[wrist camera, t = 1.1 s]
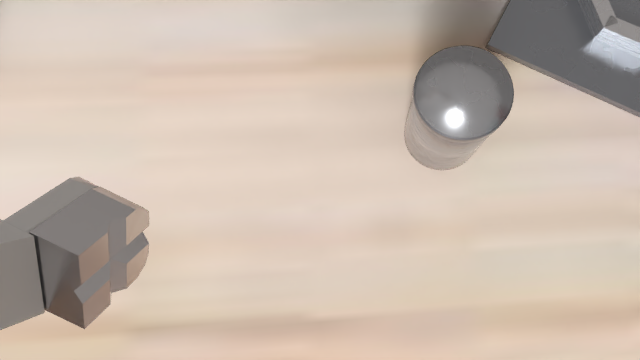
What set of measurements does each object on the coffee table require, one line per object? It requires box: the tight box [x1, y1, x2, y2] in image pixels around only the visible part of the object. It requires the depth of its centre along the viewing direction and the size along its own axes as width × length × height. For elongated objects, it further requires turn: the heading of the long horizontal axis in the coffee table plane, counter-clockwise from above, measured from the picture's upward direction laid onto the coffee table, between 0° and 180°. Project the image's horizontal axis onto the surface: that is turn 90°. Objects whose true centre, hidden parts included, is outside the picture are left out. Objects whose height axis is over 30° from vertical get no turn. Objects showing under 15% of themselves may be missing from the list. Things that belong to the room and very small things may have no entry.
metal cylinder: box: [404, 46, 514, 170], centre depth 33 cm, size 5×5×9 cm
